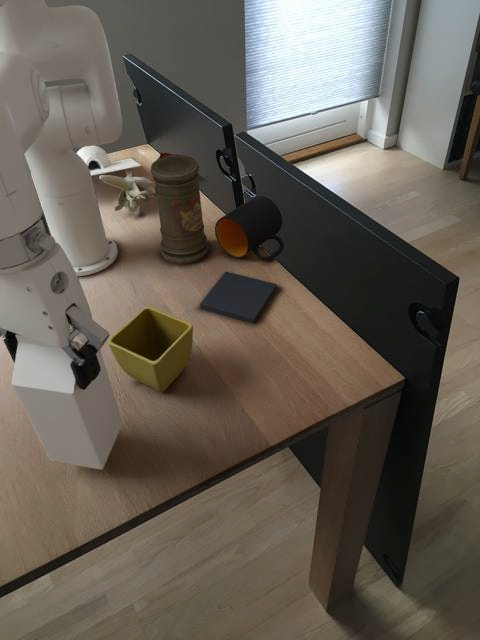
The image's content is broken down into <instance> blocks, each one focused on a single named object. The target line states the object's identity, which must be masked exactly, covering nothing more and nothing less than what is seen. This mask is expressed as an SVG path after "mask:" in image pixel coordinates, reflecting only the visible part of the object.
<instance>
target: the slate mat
mask: <svg viewBox="0 0 480 640" xmlns="http://www.w3.org/2000/svg"><path fill="white" fill-rule="evenodd" d="M277 289H278V284H277V283H274V282H270V281H266V280H262V279H257V278H255V277H250V276H246V275H242V274H238V273H235V272H230V271H224V273H223V274H222V276H221V277H219V280H218V281H217V282H216V283H215V284H214V286H213V287H212V288H211V289H210V291H209V292H208V293H207V294H206V296H205V297H204V299H203V300H202V301H201V302H200V304H199V308H200V310H204V311H208V312H210V313H215V314H218V315H222V316H225V317H229V318H232V319H237V320H240V321H243V322H247V323H250V324H255V323H256V322H257V320H258V318H259V316H260V315H261V314H262V312H263V310H264V309H265V307H266V306H267V304H268V303H269V301H270V299H271V298H272V297H273V295H274V293H275V292H276V291H277Z"/></svg>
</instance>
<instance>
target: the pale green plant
mask: <svg viewBox="0 0 480 640" xmlns="http://www.w3.org/2000/svg"><path fill="white" fill-rule="evenodd" d="M123 170H124V172H125V175H126V176H125V177H120V176H116V175H111V174H99V177H98V178H99V180H101V181H102V182H103V183H105V184H107V185H110V186H113V187H116V188H118V189H121V191H120V192H119V194H118V196H117V199H116V202H115V205H114V207H113V208H114V211H115V212H116V211H120V210H122V209H123V208H124V207H125V208H126V209H128V210H131V212H132V213H133V214H134V215H135V216H136V217H138V216H140V215H141V205H140V200H141V199H145V200H146V197H147V195H148V196H149V198H152V197H153V198H154V199H155V198H156V193H155V182H154V181H151V180H150V179H148V178H146V177H144V176H143V177H142V176H141V177H140V176H133V171H132V168H128V169H123Z"/></svg>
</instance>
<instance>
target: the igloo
mask: <svg viewBox="0 0 480 640" xmlns="http://www.w3.org/2000/svg"><path fill="white" fill-rule="evenodd" d="M76 153H77V154H78V155H79V156H80V157H81V158H82V159H83V160H84V162H85V163H86V165H87V166H88V168H89V170H90V173H91V177H94V176H98V175H104V174H108V173H114V172H117V171H123V170H124V169H128V168H131V169H132V168H138V167H141V166H142V165H141V164H140V163H139V162H137V161H136V160H135V159H133V158H126V159H125V158H124V159H120V160H115V161H111V162H110V158H109V155H108V153H107V151H105V149H103V148H102V147H100V146H98V145H95V146H87V147H80V148H79V150H77V152H76Z"/></svg>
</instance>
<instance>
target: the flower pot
mask: <svg viewBox="0 0 480 640" xmlns="http://www.w3.org/2000/svg"><path fill="white" fill-rule="evenodd" d="M193 336H194V324H192V323H190V322H188V321H185V320H183V319H180V318H178V317H175V316H173V315H170V314H168V313H165V312H163V311H161V310H159V309H156V308H154V307H151V306H146V305H145V306H144V307H143V308H141V309H140V310H139V311H138V312H137V313H136V314H135V315H134V316H133V317H132V318H131V319H130V320H129V321H128V322H127V323H126V324H125V325H123V326H122V327H121V328H120V329H119V330H118V331H116V333H114V334H113V335H112V336H111V337H110V338H108V339H107V341H106V343H107V345H108V346H109V349H110V351H111V353H112V354H113V357H114V359H115V360H116V362H117V364H118V366H119V367H120V368H121V369H122V370H123V372H125V373H126V374H127V375H128V376H129V377H131V378H132V379H134V380H136V381H137V382H140V383H142V384H143V385H146V386H147V387H149V388H151V389H154V390H155V391H158V392H159V393H164V392H165V391H166V390H167V389H168V387H169V386H170V385H171V384H172V383H173V382H174V381H175V380H176V379H177V378H178V376H179V375H180V374H182V372H183V371H184V369H185V368H186V366H187V365H188V363H189V361H190V359H191V356H192V353H193V341H194V340H193V339H194V338H193Z"/></svg>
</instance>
